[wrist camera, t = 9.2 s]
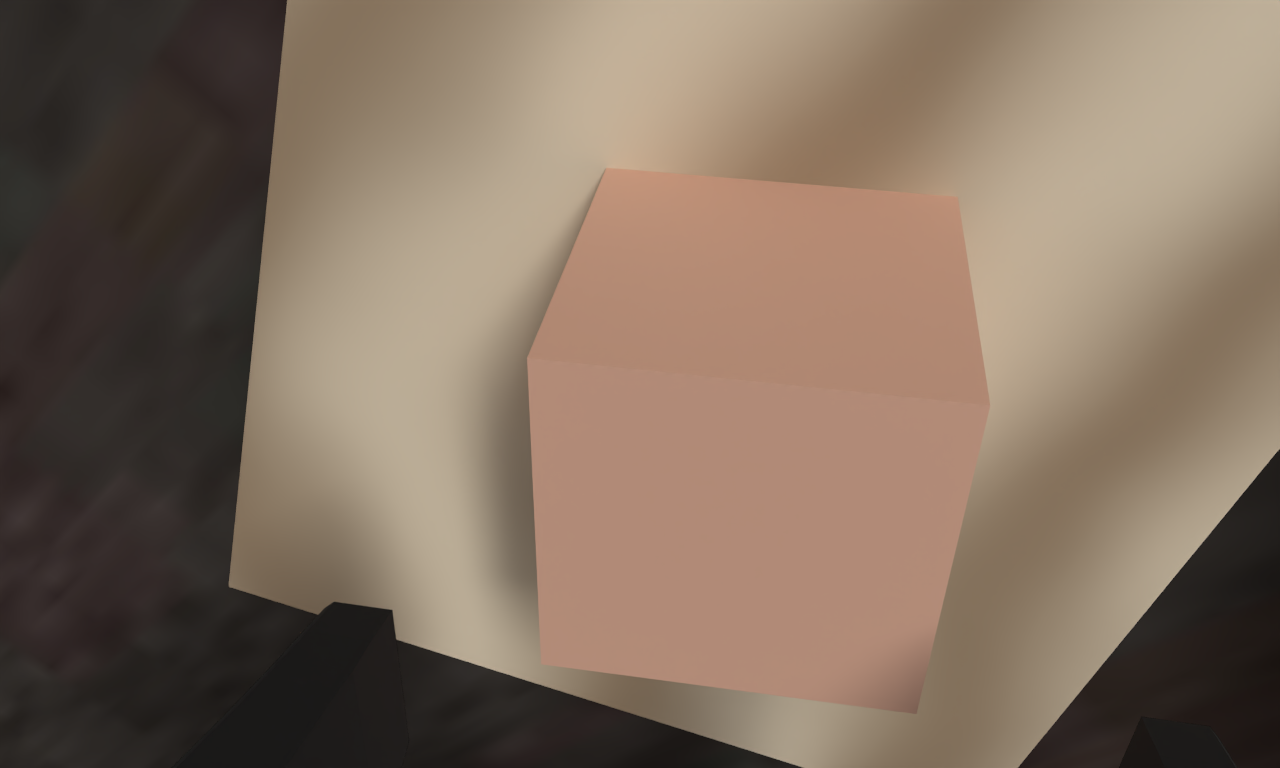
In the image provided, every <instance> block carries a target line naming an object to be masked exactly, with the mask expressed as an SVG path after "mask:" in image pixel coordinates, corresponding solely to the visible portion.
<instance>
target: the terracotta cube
mask: <svg viewBox="0 0 1280 768" xmlns="http://www.w3.org/2000/svg"><path fill="white" fill-rule="evenodd" d="M527 368H528V390H529V411H530V433H531V455H532V477H533V499H534V520H535V542H536V564H537V586H538V608H539V629H540V651H541V664H543V665H550V666H558V667H565V668H573V669H580V670H588V671H595V672H603V673H610V674H618V675H626V676H633V677H641V678H648V679H656V680H663V681H671V682H678V683H686V684H693V685H701V686H708V687H716V688H724V689H731V690H739V691H746V692H754V693H761V694H769V695H776V696H784V697H791V698H799V699H806V700H814V701H822V702H829V703H837V704H844V705H852V706H859V707H867V708H874V709H882V710H889V711H897V712H904V713H912V714H917V710H918V706H919V702H920V697H921V693H922V689H923V685H924V681H925V677H926V672H927V668H928V664H929V660H930V656H931V651H932V647H933V643H934V639H935V635H936V631H937V626H938V622H939V618H940V614H941V610H942V606H943V601H944V597H945V593H946V589H947V585H948V580H949V576H950V572H951V568H952V564H953V560H954V555H955V551H956V547H957V543H958V539H959V535H960V530H961V526H962V522H963V518H964V514H965V509H966V505H967V501H968V497H969V493H970V489H971V484H972V480H973V476H974V472H975V468H976V463H977V459H978V455H979V451H980V447H981V443H982V438H983V434H984V430H985V426H986V422H987V418H988V413H989V409H990V400H989V394H988V387H987V381H986V374H985V368H984V362H983V355H982V349H981V342H980V336H979V330H978V323H977V317H976V310H975V304H974V297H973V291H972V285H971V278H970V272H969V265H968V259H967V253H966V246H965V240H964V233H963V227H962V221H961V214H960V208H959V201H958V197H954V196H942V195H930V194H918V193H906V192H894V191H882V190H870V189H858V188H846V187H833V186H821V185H809V184H797V183H785V182H773V181H761V180H749V179H737V178H725V177H713V176H701V175H688V174H676V173H664V172H652V171H640V170H628V169H616V168H606V170H605V172H604V175H603V177H602V179H601V182H600V184H599V187H598V189H597V191H596V194H595V196H594V199H593V201H592V203H591V206H590V208H589V211H588V213H587V215H586V218H585V220H584V223H583V225H582V227H581V230H580V232H579V235H578V237H577V239H576V242H575V244H574V247H573V249H572V251H571V254H570V256H569V259H568V261H567V263H566V266H565V268H564V271H563V273H562V275H561V278H560V280H559V283H558V285H557V287H556V290H555V292H554V295H553V297H552V299H551V302H550V304H549V307H548V309H547V311H546V314H545V316H544V319H543V321H542V323H541V326H540V328H539V331H538V333H537V335H536V338H535V340H534V343H533V345H532V347H531V350H530V352H529V355H528V357H527Z"/></svg>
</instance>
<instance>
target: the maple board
mask: <svg viewBox="0 0 1280 768" xmlns="http://www.w3.org/2000/svg"><path fill="white" fill-rule="evenodd" d="M606 168H616V169H628V170H640V171H652V172H664V173H676V174H688V175H701V176H713V177H725V178H737V179H749V180H761V181H773V182H785V183H797V184H809V185H821V186H833V187H846V188H858V189H870V190H882V191H894V192H906V193H918V194H930V195H942V196H954V197H958V201H959V208H960V214H961V221H962V227H963V233H964V240H965V246H966V253H967V259H968V265H969V272H970V278H971V285H972V291H973V297H974V304H975V310H976V317H977V323H978V330H979V336H980V342H981V349H982V355H983V362H984V368H985V374H986V381H987V387H988V394H989V400H990V409H989V413H988V418H987V422H986V426H985V430H984V434H983V438H982V443H981V447H980V451H979V455H978V459H977V463H976V468H975V472H974V476H973V480H972V484H971V489H970V493H969V497H968V501H967V505H966V509H965V514H964V518H963V522H962V526H961V530H960V535H959V539H958V543H957V547H956V551H955V555H954V560H953V564H952V568H951V572H950V576H949V580H948V585H947V589H946V593H945V597H944V601H943V606H942V610H941V614H940V618H939V622H938V626H937V631H936V635H935V639H934V643H933V647H932V651H931V656H930V660H929V664H928V668H927V672H926V677H925V681H924V685H923V689H922V693H921V697H920V702H919V706H918V710H917V714H912V713H904V712H897V711H889V710H882V709H874V708H867V707H859V706H852V705H844V704H837V703H829V702H822V701H814V700H806V699H799V698H791V697H784V696H776V695H769V694H761V693H754V692H746V691H739V690H731V689H724V688H716V687H708V686H701V685H693V684H686V683H678V682H671V681H663V680H656V679H648V678H641V677H633V676H626V675H618V674H610V673H603V672H595V671H588V670H580V669H573V668H565V667H558V666H550V665H543V664H541V651H540V629H539V608H538V586H537V564H536V542H535V520H534V499H533V477H532V455H531V433H530V411H529V390H528V368H527V357H528V355H529V352H530V350H531V347H532V345H533V343H534V340H535V338H536V335H537V333H538V331H539V328H540V326H541V323H542V321H543V319H544V316H545V314H546V311H547V309H548V307H549V304H550V302H551V299H552V297H553V295H554V292H555V290H556V287H557V285H558V283H559V280H560V278H561V275H562V273H563V271H564V268H565V266H566V263H567V261H568V259H569V256H570V254H571V251H572V249H573V247H574V244H575V242H576V239H577V237H578V235H579V232H580V230H581V227H582V225H583V223H584V220H585V218H586V215H587V213H588V211H589V208H590V206H591V203H592V201H593V199H594V196H595V194H596V191H597V189H598V187H599V184H600V182H601V179H602V177H603V175H604V172H605V170H606ZM1279 449H1280V0H287V9H286V19H285V29H284V39H283V49H282V59H281V69H280V79H279V89H278V99H277V109H276V119H275V129H274V139H273V149H272V159H271V169H270V179H269V189H268V199H267V209H266V219H265V228H264V238H263V248H262V258H261V268H260V278H259V288H258V298H257V308H256V318H255V328H254V338H253V348H252V358H251V368H250V378H249V388H248V398H247V408H246V418H245V428H244V438H243V448H242V458H241V468H240V478H239V488H238V498H237V508H236V518H235V528H234V538H233V548H232V558H231V567H230V577H229V587H232V588H235V589H238V590H241V591H244V592H247V593H251V594H254V595H257V596H260V597H263V598H267V599H270V600H273V601H276V602H279V603H282V604H286V605H289V606H292V607H295V608H298V609H301V610H305V611H308V612H311V613H314V614H317V615H319V613H320V612H321V611H322V610H323V609H324V608H325V607H327V606H328V605H330V604H331V603H333V602H340V603H348V604H355V605H362V606H369V607H376V608H383V609H390V610H393V618H394V626H395V634H396V639H397V640H400V641H403V642H406V643H410V644H413V645H416V646H419V647H422V648H425V649H429V650H432V651H435V652H438V653H441V654H444V655H448V656H451V657H454V658H457V659H460V660H464V661H467V662H470V663H473V664H476V665H479V666H483V667H486V668H489V669H492V670H495V671H498V672H502V673H505V674H508V675H511V676H514V677H518V678H521V679H524V680H527V681H530V682H533V683H537V684H540V685H543V686H546V687H549V688H553V689H556V690H559V691H562V692H565V693H568V694H572V695H575V696H578V697H581V698H584V699H587V700H591V701H594V702H597V703H600V704H603V705H607V706H610V707H613V708H616V709H619V710H622V711H626V712H629V713H632V714H635V715H638V716H641V717H645V718H648V719H651V720H654V721H657V722H661V723H664V724H667V725H670V726H673V727H676V728H680V729H683V730H686V731H689V732H692V733H695V734H699V735H702V736H705V737H708V738H711V739H715V740H718V741H721V742H724V743H727V744H730V745H734V746H737V747H740V748H743V749H746V750H750V751H753V752H756V753H759V754H762V755H765V756H769V757H772V758H775V759H778V760H781V761H784V762H788V763H791V764H794V765H797V766H800V767H804V768H1018V767H1019V765H1020V764H1021V763H1022V762H1023V761H1024V759H1025V758H1026V757H1027V756H1028V754H1029V753H1030V752H1031V751H1032V750H1033V748H1034V747H1035V746H1036V745H1037V743H1038V742H1039V741H1040V740H1041V739H1042V737H1043V736H1044V735H1045V734H1046V733H1047V731H1048V730H1049V729H1050V728H1051V726H1052V725H1053V724H1054V723H1055V722H1056V720H1057V719H1058V718H1059V717H1060V715H1061V714H1062V713H1063V712H1064V711H1065V709H1066V708H1067V707H1068V706H1069V704H1070V703H1071V702H1072V701H1073V700H1074V698H1075V697H1076V696H1077V695H1078V694H1079V692H1080V691H1081V690H1082V689H1083V687H1084V686H1085V685H1086V684H1087V683H1088V681H1089V680H1090V679H1091V678H1092V676H1093V675H1094V674H1095V673H1096V672H1097V670H1098V669H1099V668H1100V667H1101V666H1102V664H1103V663H1104V662H1105V661H1106V659H1107V658H1108V657H1109V656H1110V655H1111V653H1112V652H1113V651H1114V650H1115V648H1116V647H1117V646H1118V645H1119V644H1120V642H1121V641H1122V640H1123V639H1124V637H1125V636H1126V635H1127V634H1128V633H1129V631H1130V630H1131V629H1132V628H1133V627H1134V625H1135V624H1136V623H1137V622H1138V620H1139V619H1140V618H1141V617H1142V616H1143V614H1144V613H1145V612H1146V611H1147V609H1148V608H1149V607H1150V606H1151V605H1152V603H1153V602H1154V601H1155V600H1156V599H1157V597H1158V596H1159V595H1160V594H1161V592H1162V591H1163V590H1164V589H1165V588H1166V586H1167V585H1168V584H1169V583H1170V581H1171V580H1172V579H1173V578H1174V577H1175V575H1176V574H1177V573H1178V572H1179V570H1180V569H1181V568H1182V567H1183V566H1184V564H1185V563H1186V562H1187V561H1188V560H1189V558H1190V557H1191V556H1192V555H1193V553H1194V552H1195V551H1196V550H1197V549H1198V547H1199V546H1200V545H1201V544H1202V542H1203V541H1204V540H1205V539H1206V538H1207V536H1208V535H1209V534H1210V533H1211V532H1212V530H1213V529H1214V528H1215V527H1216V525H1217V524H1218V523H1219V522H1220V521H1221V519H1222V518H1223V517H1224V516H1225V514H1226V513H1227V512H1228V511H1229V510H1230V508H1231V507H1232V506H1233V505H1234V504H1235V502H1236V501H1237V500H1238V499H1239V497H1240V496H1241V495H1242V494H1243V493H1244V491H1245V490H1246V489H1247V488H1248V486H1249V485H1250V484H1251V483H1252V482H1253V480H1254V479H1255V478H1256V477H1257V475H1258V474H1259V473H1260V472H1261V471H1262V469H1263V468H1264V467H1265V466H1266V465H1267V463H1268V462H1269V461H1270V460H1271V458H1272V457H1273V456H1274V455H1275V454H1276V452H1277V451H1278V450H1279Z"/></svg>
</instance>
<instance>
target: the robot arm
mask: <svg viewBox="0 0 1280 768" xmlns="http://www.w3.org/2000/svg"><path fill="white" fill-rule="evenodd" d="M408 743H409V736H408V729H407V721H406V713H405V705H404V697H403V689H402V681H401V673H400V666H399V658H398V650H397V642H396V634H395V626H394V618H393V610H390V609H383V608H376V607H369V606H362V605H355V604H348V603H340V602H333V603H331V604H330V605H328V606H327V607H325V608H324V609H323V610H322V611H321V612H320V613H319V615H318V616H317V617H316V618H315V619H314V620H313V621H312V622H311V623H310V624H309V626H308V627H307V628H306V629H305V630H304V631H303V632H302V633H301V634H300V635H299V637H298V638H297V639H296V640H295V641H294V642H293V643H292V644H291V645H290V646H289V647H288V649H287V650H286V651H285V652H284V653H283V654H282V655H281V656H280V657H279V658H278V659H277V660H276V662H275V663H274V664H273V665H272V666H271V667H270V668H269V669H268V670H267V671H266V672H265V673H264V674H263V675H262V676H261V678H260V679H259V680H258V681H257V682H256V683H255V684H254V685H253V686H252V687H251V688H250V689H249V690H248V691H247V692H246V693H245V694H244V695H243V696H242V697H241V698H240V699H239V701H238V702H237V703H236V704H235V705H234V706H233V707H232V708H231V709H230V710H229V711H228V712H227V713H226V714H225V715H224V716H223V717H222V718H221V719H220V720H219V721H218V722H217V723H216V724H215V725H214V726H213V727H212V728H211V729H210V730H209V731H208V732H207V733H206V734H205V735H204V736H203V737H202V738H201V739H200V740H199V741H198V742H197V743H196V744H195V745H194V746H193V747H192V748H191V749H190V750H189V751H188V752H187V753H186V754H185V755H184V756H183V757H182V758H181V759H180V760H179V761H178V762H177V763H176V764H175V765H174V766H173V767H172V768H402V765H403V761H404V758H405V754H406V750H407V747H408ZM1119 768H1237V766H1236V764H1235V763H1234V761H1233V760H1232V758H1231V757H1230V755H1229V753H1228V752H1227V750H1226V749H1225V747H1224V746H1223V744H1222V743H1221V741H1220V739H1219V738H1218V736H1217V735H1216V734H1215V733H1214V731H1213V730H1212V729H1211V727H1210V726H1203V725H1196V724H1189V723H1182V722H1175V721H1168V720H1161V719H1154V718H1147V717H1141V719H1140V721H1139V723H1138V726H1137V728H1136V730H1135V732H1134V735H1133V737H1132V739H1131V741H1130V744H1129V746H1128V748H1127V750H1126V753H1125V755H1124V757H1123V760H1122V762H1121V764H1120V766H1119Z"/></svg>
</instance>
